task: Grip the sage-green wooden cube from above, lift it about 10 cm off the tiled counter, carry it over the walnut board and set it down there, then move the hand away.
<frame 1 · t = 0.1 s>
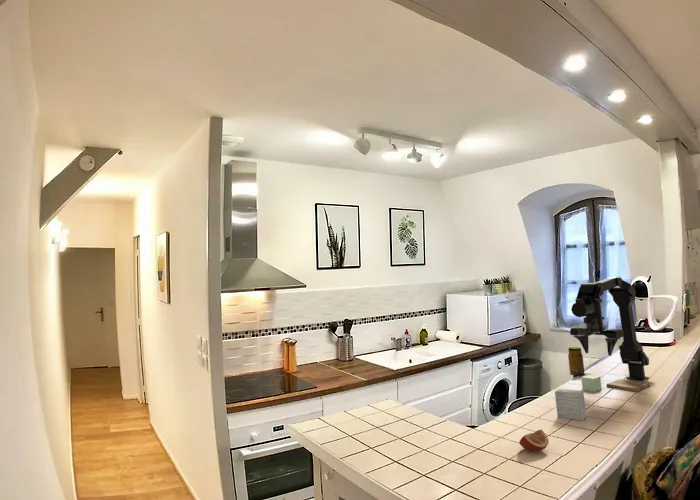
hand: (598, 354, 171), 14 cm above the worktop, tool pointing down, fingers open, 9 cm apart
sage cube: (592, 389, 175), on the worktop
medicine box: (572, 418, 144), on the worktop
condiment: (579, 374, 201), on the worktop
walnut board: (627, 386, 175), on the worktop
fruit slice: (535, 451, 120), on the worktop
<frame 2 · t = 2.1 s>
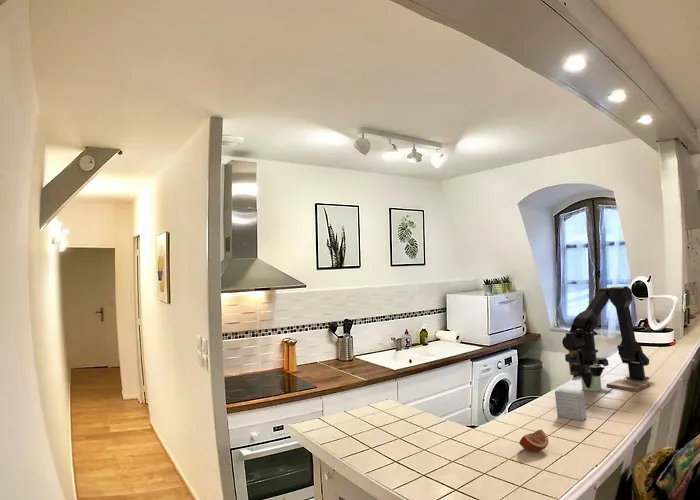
hand: (591, 386, 175), 1 cm above the worktop, tool pointing down, fingers closed on sage cube, 5 cm apart
sage cube: (592, 389, 175), on the worktop, touching gripper
everything else where it was.
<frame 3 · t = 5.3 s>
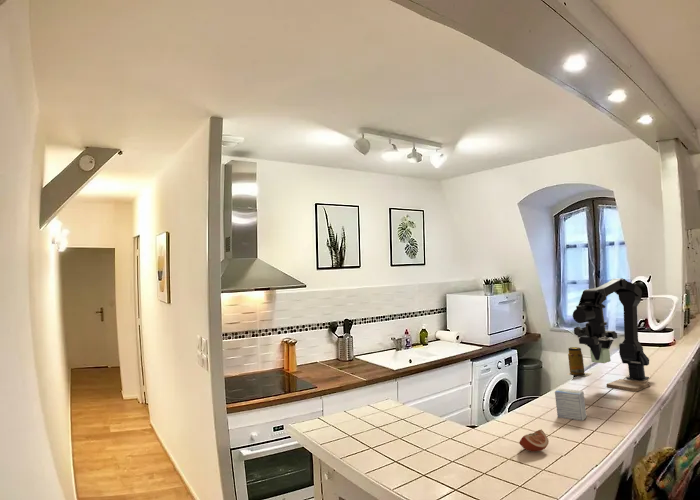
hand: (600, 358, 176), 12 cm above the worktop, tool pointing down, fingers closed on sage cube, 5 cm apart
sage cube: (601, 361, 176), point 11 cm above the worktop, touching gripper
everything else where it was.
when the fingers open (3 cm above the worktop, at t = 8.5 s): sage cube stays where it is, resting on walnut board.
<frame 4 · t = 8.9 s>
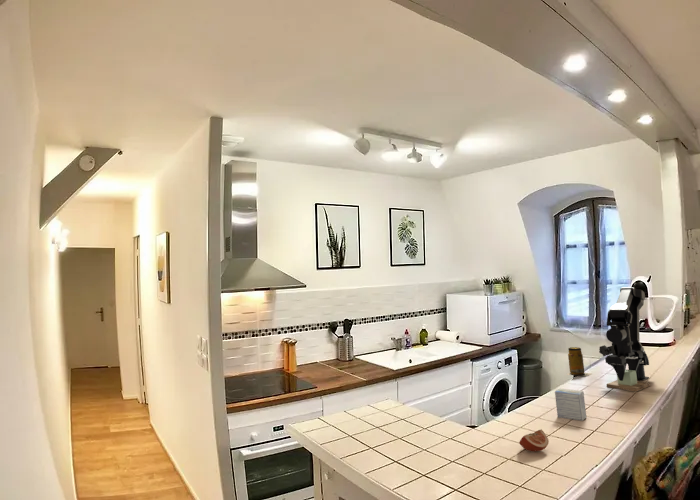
hand: (626, 378, 175), 3 cm above the worktop, tool pointing down, fingers open, 9 cm apart
sage cube: (627, 383, 175), point 1 cm above the worktop, touching walnut board
everything else where it was.
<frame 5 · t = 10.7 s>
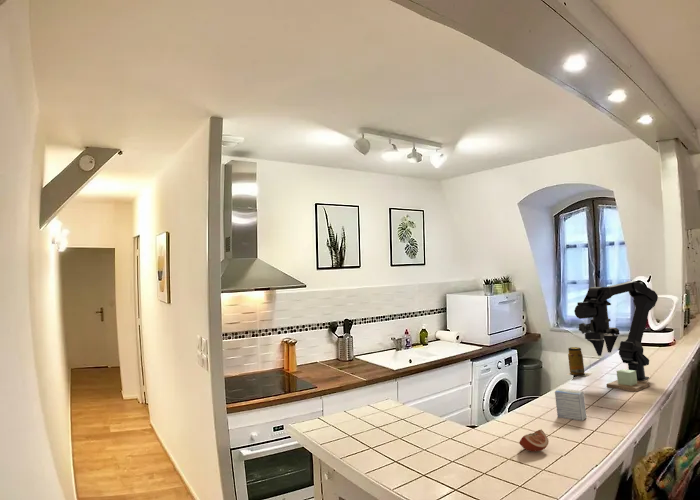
hand: (604, 354, 183), 12 cm above the worktop, tool pointing down, fingers open, 9 cm apart
nothing on the worktop moved.
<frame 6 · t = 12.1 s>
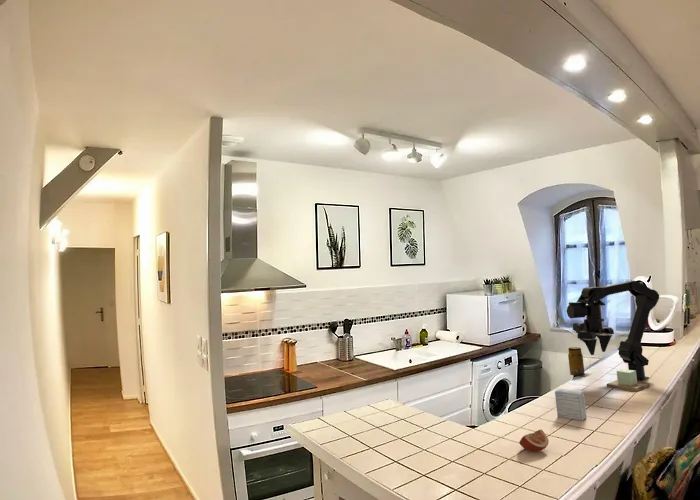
hand: (598, 353, 185), 12 cm above the worktop, tool pointing down, fingers open, 9 cm apart
nothing on the worktop moved.
at the end: sage cube inside the target area on the walnut board (0.0 cm from its centre), point 1.2 cm above the walnut board's base; sage cube tilted 0°; the gripper is holding nothing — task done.
